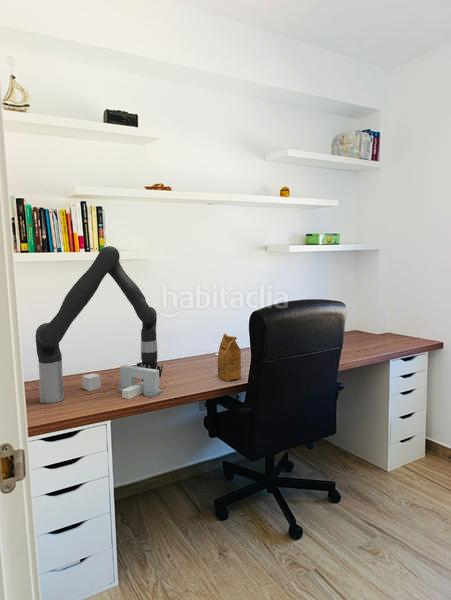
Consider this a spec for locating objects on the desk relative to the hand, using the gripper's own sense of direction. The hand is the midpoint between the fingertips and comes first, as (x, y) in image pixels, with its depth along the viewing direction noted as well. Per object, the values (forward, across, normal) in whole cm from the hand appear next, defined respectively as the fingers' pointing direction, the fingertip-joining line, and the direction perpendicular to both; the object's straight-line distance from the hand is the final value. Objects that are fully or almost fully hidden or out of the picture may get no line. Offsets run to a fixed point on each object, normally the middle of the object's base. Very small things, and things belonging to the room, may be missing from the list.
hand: (150, 385), depth 197 cm
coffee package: (+1, -26, -30) cm, 40 cm away
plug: (+1, 0, +8) cm, 8 cm away
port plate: (+1, 0, +8) cm, 8 cm away
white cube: (+1, +24, +13) cm, 27 cm away
